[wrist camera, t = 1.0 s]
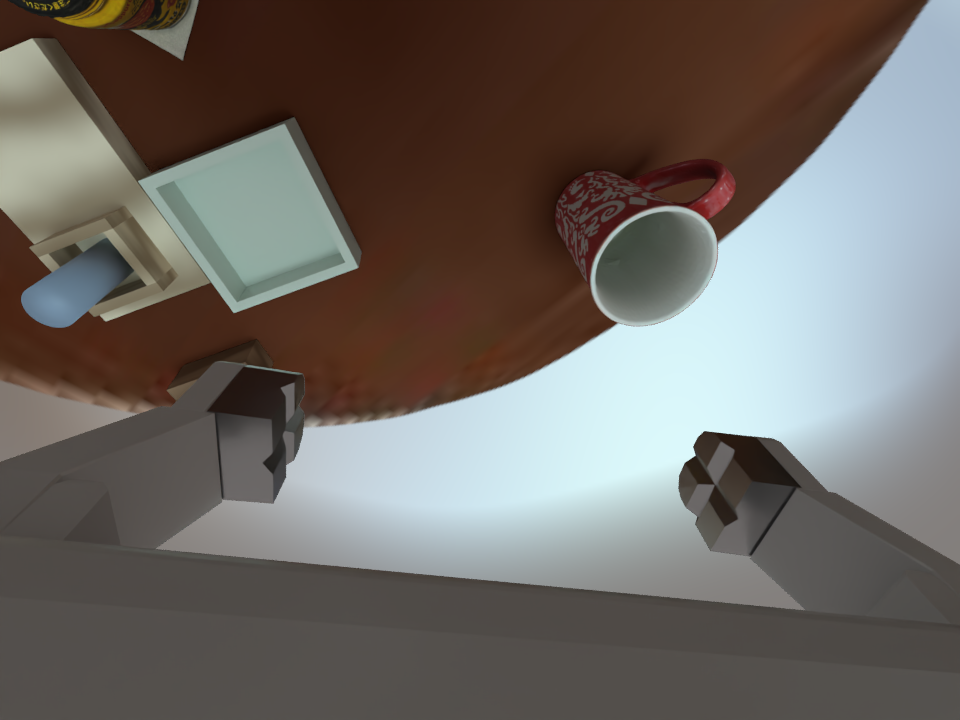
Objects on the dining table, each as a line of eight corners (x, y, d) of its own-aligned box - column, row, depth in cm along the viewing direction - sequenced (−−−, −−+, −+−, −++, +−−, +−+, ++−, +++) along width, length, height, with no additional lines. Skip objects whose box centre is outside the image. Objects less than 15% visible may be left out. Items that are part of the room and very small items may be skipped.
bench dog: (183, 365, 47) (166, 390, 44) (256, 339, 46) (245, 361, 43) (202, 387, 49) (187, 412, 45) (273, 362, 48) (263, 386, 45)
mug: (580, 276, 47) (633, 349, 36) (524, 211, 43) (565, 270, 32) (689, 186, 44) (787, 236, 32) (641, 104, 39) (734, 129, 28)
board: (-72, 92, 33) (-148, 100, 28) (56, 38, 32) (-2, 38, 27) (120, 308, 43) (86, 339, 38) (220, 270, 42) (197, 298, 38)
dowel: (87, 244, 37) (9, 295, 30) (121, 231, 37) (51, 279, 30) (116, 277, 39) (48, 333, 31) (148, 265, 39) (88, 318, 31)
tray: (159, 170, 37) (137, 181, 34) (294, 116, 36) (284, 123, 33) (245, 294, 44) (233, 313, 41) (361, 252, 43) (358, 267, 40)
